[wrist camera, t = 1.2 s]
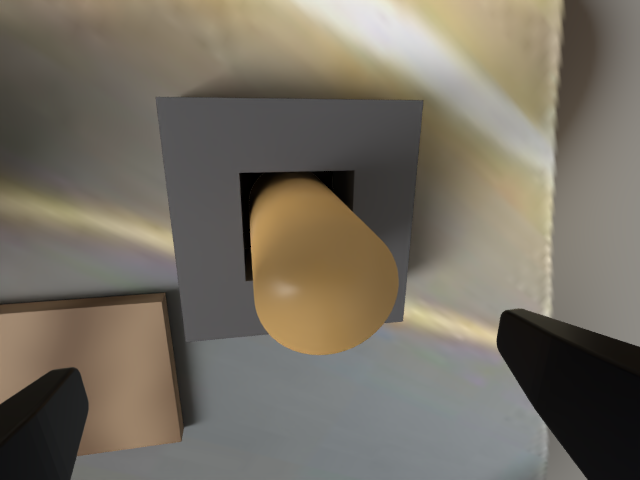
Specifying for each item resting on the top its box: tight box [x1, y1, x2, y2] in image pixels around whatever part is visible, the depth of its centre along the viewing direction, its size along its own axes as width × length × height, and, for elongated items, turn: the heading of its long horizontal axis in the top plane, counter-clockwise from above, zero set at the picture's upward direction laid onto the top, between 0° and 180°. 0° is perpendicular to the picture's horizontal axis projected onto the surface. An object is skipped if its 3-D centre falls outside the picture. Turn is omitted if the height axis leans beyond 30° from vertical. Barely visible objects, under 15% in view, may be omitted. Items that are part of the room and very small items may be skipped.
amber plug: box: [249, 171, 399, 355], centre depth 15 cm, size 4×4×10 cm
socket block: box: [156, 97, 423, 342], centre depth 18 cm, size 10×10×4 cm
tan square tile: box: [0, 293, 184, 456], centre depth 20 cm, size 9×9×1 cm
